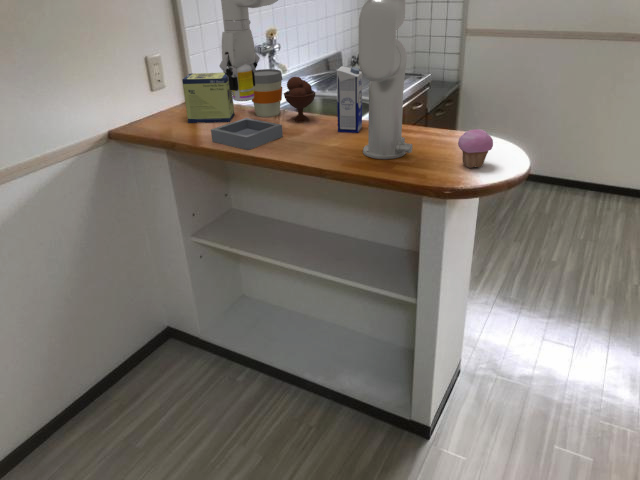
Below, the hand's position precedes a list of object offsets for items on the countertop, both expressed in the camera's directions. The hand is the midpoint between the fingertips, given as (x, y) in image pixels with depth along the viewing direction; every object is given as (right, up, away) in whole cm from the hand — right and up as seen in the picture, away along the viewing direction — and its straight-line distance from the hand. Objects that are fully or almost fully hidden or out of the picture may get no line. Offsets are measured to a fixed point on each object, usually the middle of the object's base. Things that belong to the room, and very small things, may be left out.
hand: (242, 87), depth 167 cm
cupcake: (+65, -27, -20) cm, 74 cm away
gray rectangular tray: (+1, -15, +8) cm, 16 cm away
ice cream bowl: (+17, -4, +26) cm, 32 cm away
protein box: (-16, -3, +31) cm, 35 cm away
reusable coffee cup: (+4, 0, +35) cm, 36 cm away
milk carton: (+34, -10, +14) cm, 38 cm away
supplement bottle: (0, -3, +2) cm, 4 cm away
